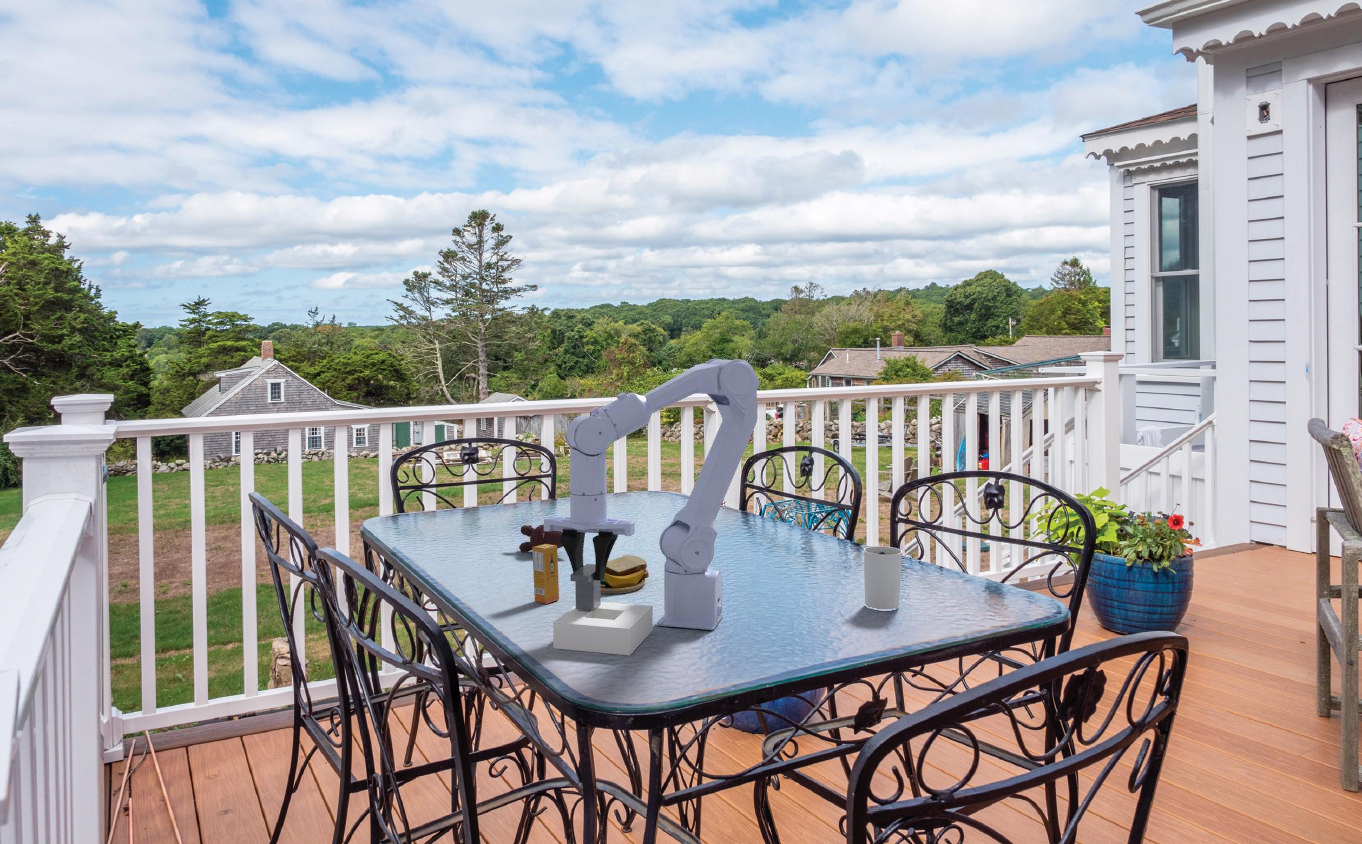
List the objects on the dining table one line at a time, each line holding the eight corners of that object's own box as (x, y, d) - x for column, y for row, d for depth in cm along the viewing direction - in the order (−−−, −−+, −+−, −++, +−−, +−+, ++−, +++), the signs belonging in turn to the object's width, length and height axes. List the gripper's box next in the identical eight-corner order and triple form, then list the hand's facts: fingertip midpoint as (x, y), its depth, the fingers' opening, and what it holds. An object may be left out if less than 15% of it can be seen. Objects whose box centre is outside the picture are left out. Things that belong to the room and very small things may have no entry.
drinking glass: (854, 603, 159) (855, 548, 158) (885, 599, 161) (887, 544, 160) (877, 614, 153) (878, 556, 152) (909, 609, 155) (910, 552, 154)
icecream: (587, 524, 196) (531, 524, 203) (568, 521, 189) (510, 521, 196) (585, 556, 195) (529, 555, 202) (565, 555, 188) (508, 553, 195)
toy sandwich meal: (569, 583, 173) (569, 558, 172) (633, 574, 179) (633, 551, 179) (594, 599, 162) (594, 573, 161) (661, 590, 168) (661, 565, 168)
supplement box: (546, 597, 162) (546, 542, 161) (559, 600, 160) (559, 545, 159) (532, 601, 160) (531, 545, 159) (545, 604, 157) (545, 548, 157)
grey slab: (604, 601, 144) (604, 564, 144) (589, 614, 138) (588, 576, 137) (587, 600, 145) (587, 563, 145) (570, 612, 138) (570, 574, 138)
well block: (652, 630, 143) (652, 605, 143) (629, 655, 132) (629, 628, 132) (582, 624, 146) (581, 600, 146) (553, 648, 135) (553, 622, 135)
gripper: (534, 494, 138) (536, 581, 140) (623, 499, 135) (624, 587, 136) (553, 487, 145) (554, 570, 146) (638, 491, 141) (639, 576, 142)
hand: (589, 577), depth 141 cm, fingers closed on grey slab, 3 cm apart
